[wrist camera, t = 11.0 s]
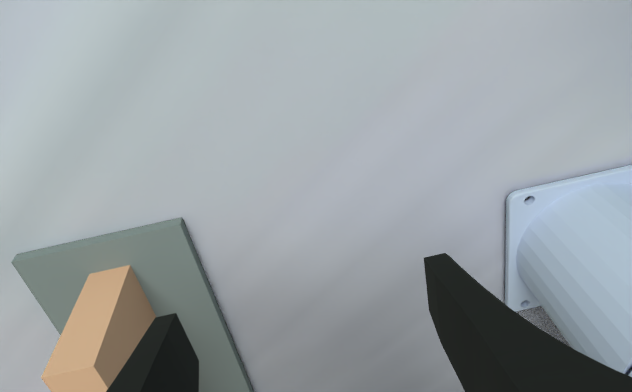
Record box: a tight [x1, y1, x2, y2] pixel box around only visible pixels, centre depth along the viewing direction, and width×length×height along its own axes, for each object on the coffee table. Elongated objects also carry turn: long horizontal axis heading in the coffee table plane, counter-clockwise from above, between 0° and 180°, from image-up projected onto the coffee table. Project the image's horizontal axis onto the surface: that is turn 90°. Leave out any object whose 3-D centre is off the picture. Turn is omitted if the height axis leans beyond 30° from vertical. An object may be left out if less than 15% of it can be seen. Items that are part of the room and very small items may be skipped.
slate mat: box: [12, 218, 254, 392], centre depth 27 cm, size 8×16×1 cm, turn 11°
